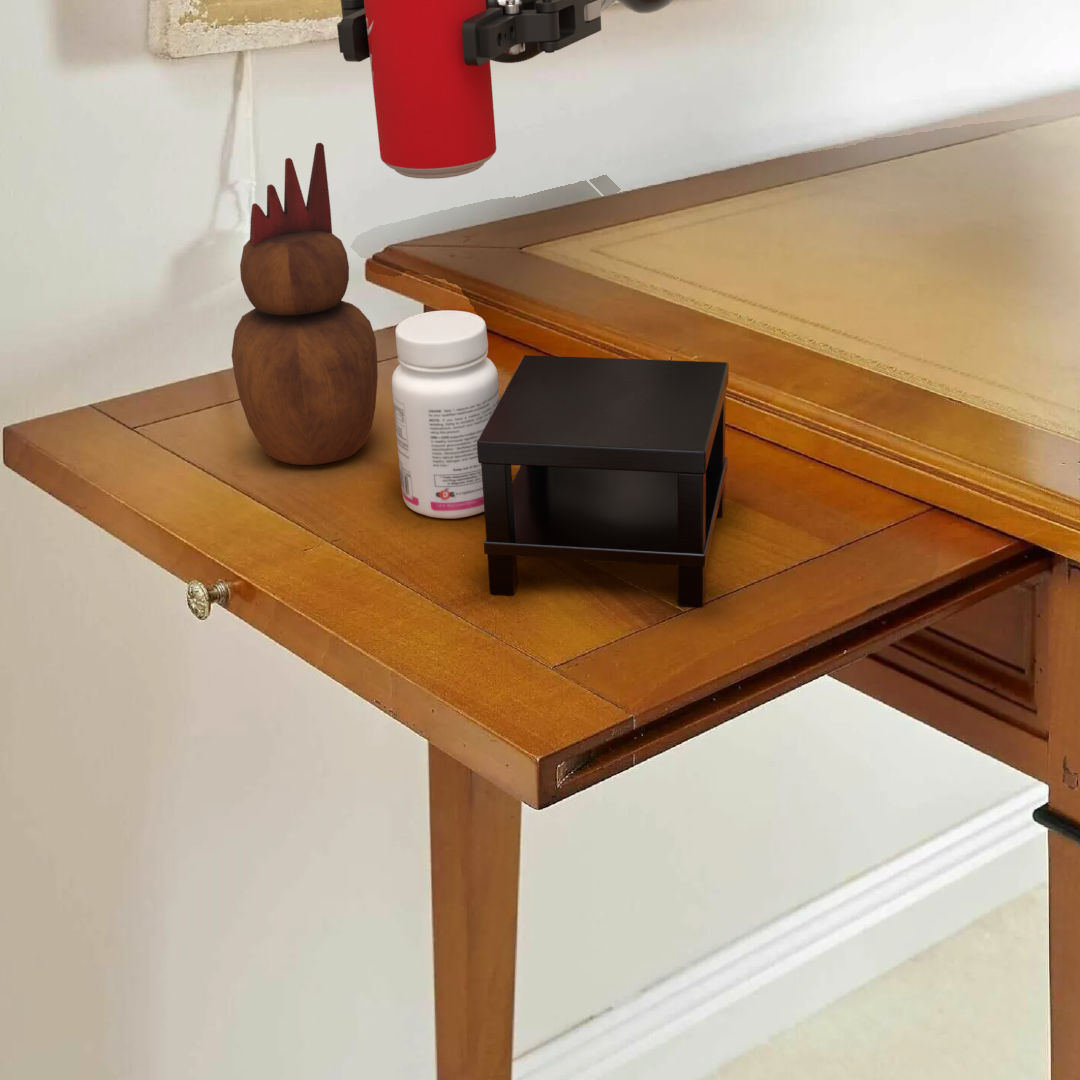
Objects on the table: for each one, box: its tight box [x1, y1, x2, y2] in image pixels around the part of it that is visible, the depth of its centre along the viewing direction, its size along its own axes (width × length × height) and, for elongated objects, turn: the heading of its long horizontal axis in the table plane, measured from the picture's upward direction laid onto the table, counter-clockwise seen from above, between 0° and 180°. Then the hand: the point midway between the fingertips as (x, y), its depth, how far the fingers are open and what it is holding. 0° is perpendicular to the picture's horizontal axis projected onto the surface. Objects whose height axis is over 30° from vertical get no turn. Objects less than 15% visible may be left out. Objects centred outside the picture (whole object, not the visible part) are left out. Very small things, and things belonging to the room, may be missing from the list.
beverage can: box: [364, 0, 497, 180], centre depth 85 cm, size 6×6×12 cm
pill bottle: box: [391, 309, 500, 519], centre depth 73 cm, size 5×5×8 cm
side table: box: [477, 354, 730, 608], centre depth 69 cm, size 9×9×7 cm
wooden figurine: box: [231, 142, 379, 466], centre depth 77 cm, size 7×6×15 cm
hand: (408, 43), depth 82 cm, fingers closed on beverage can, 6 cm apart
